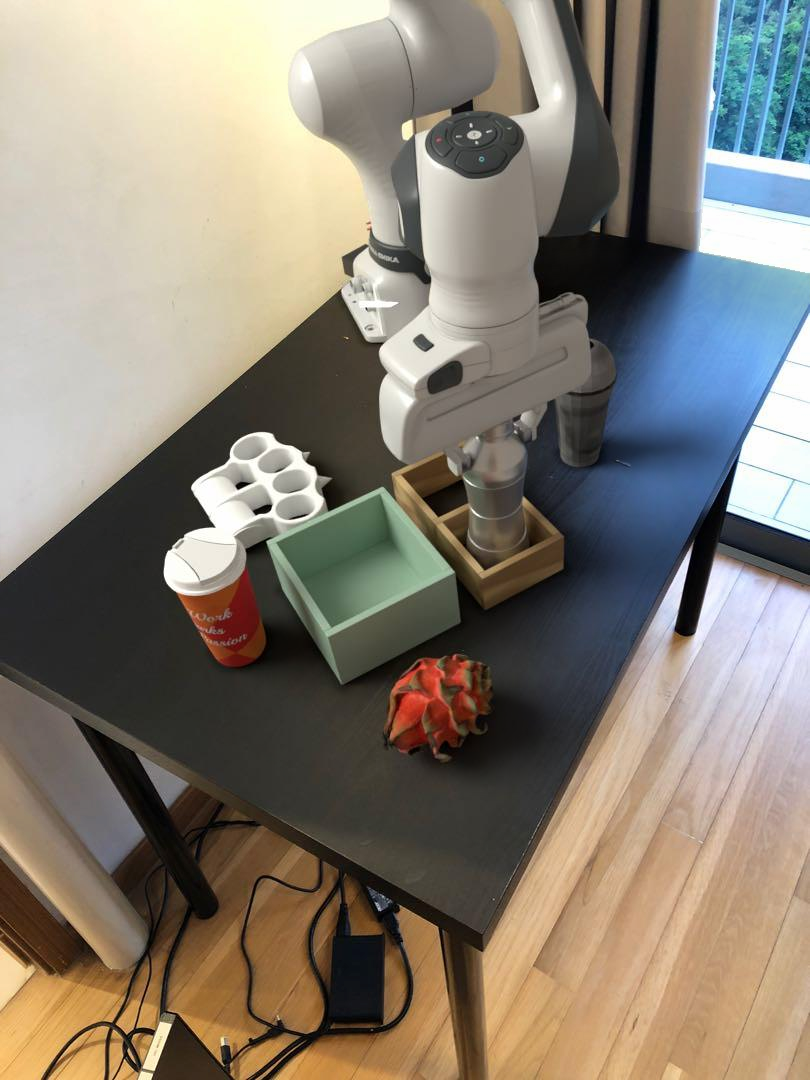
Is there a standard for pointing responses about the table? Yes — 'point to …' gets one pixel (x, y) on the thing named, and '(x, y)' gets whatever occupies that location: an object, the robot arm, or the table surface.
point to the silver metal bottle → (496, 495)
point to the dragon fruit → (437, 704)
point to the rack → (453, 532)
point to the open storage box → (365, 583)
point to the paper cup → (217, 594)
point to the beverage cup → (586, 410)
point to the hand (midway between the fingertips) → (492, 454)
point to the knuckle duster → (261, 489)
